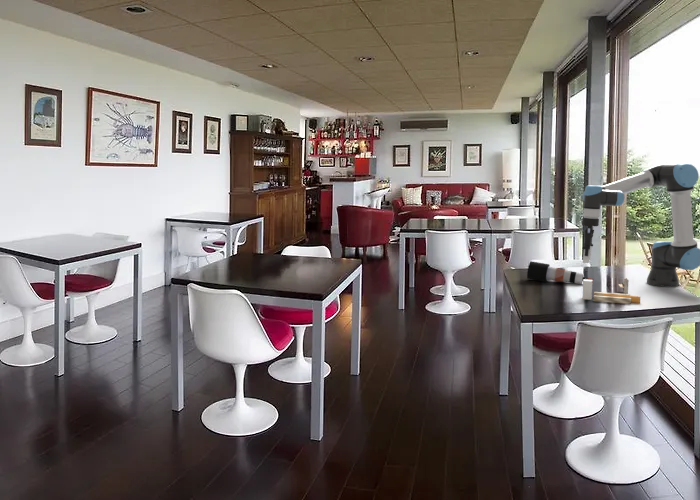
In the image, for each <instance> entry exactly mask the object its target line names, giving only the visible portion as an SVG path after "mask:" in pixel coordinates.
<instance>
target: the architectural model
mask: <svg viewBox="0 0 700 500" xmlns="http://www.w3.org/2000/svg"><path fill="white" fill-rule="evenodd" d="M629 281H630V280H629V279H628V277H626V278H623V281H622V282H621V283H618V286H619V288H622V291H623V293H622V294H629Z"/></svg>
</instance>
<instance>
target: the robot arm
mask: <svg viewBox="0 0 700 500" xmlns="http://www.w3.org/2000/svg"><path fill="white" fill-rule="evenodd" d="M698 171H699V170H698V169H697V167H695V165H693V164H691V163H688V162H687V163H686V162H671V163H670V162H666V163H660V164H657V165H654V166H651V167H649V168H646V169H643V170H641V172H640V173H637V174H634V175H631V176H627V177H625V178H622V179H620V180H617V181H614V182H611V183H607V184H605V185H586V186H585V189H584V191H583V192H582V200H583V208H582V210H581V212H582V219H581V225H582V226H585V227H586V228H585V230H584V245H583V246H582V250H583V253H582V256H583V257H582V263H584V264H589V263H590V260H591V255H592V247H593V246H594V243H593V237H594V233H595V229H594V227H599V223H600V216H601V215H600V214H601V206H602V207H603V206H605V207H606V206H607V207H618V206H622V205H623V204H624V202H625V197H626V196H625V195H626V194H629V193H631V192H635V191H637V190H640V189H644V188H647V189H649V188H652V187H666V192H667V193H668V194H670V204H671V205H670V207H671V218H672V219H671V220H672V232H673V240H666V241H665V240H664V241H655V242H653V243H652V249H651V267H650V271H649V273H648V275H647V277H646V283H647V284H648V285H651V286H657V287H658V286H659V287H679V285H680V281H679V277H678V273H677V269H681V270H685V271H694V270H696V269H698V268H699V267H700V248H699V247H698V242H697V240H695V238H694V229H693V213H692V211H693V210H692V198H691V193H692V191H693V190H694V189H695V188H694V187H695V185H696V184H697V182H698V181H699V177H700V176H699V172H698Z"/></svg>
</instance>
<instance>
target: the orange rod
mask: <svg viewBox="0 0 700 500" xmlns="http://www.w3.org/2000/svg"><path fill="white" fill-rule="evenodd" d="M603 296H610V297H624V298H631V304H640V303H641V296H640V295H639V296H638V295H637V296H636V295H630V296H626V295H612V294H603Z"/></svg>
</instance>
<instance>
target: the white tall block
mask: <svg viewBox="0 0 700 500" xmlns="http://www.w3.org/2000/svg"><path fill="white" fill-rule="evenodd" d="M592 294H593V283H592V280H588V279H584V280H583V282H582V298H581V299H582V300H589V301H591V300H593V299H592V298H593V295H592Z"/></svg>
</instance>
